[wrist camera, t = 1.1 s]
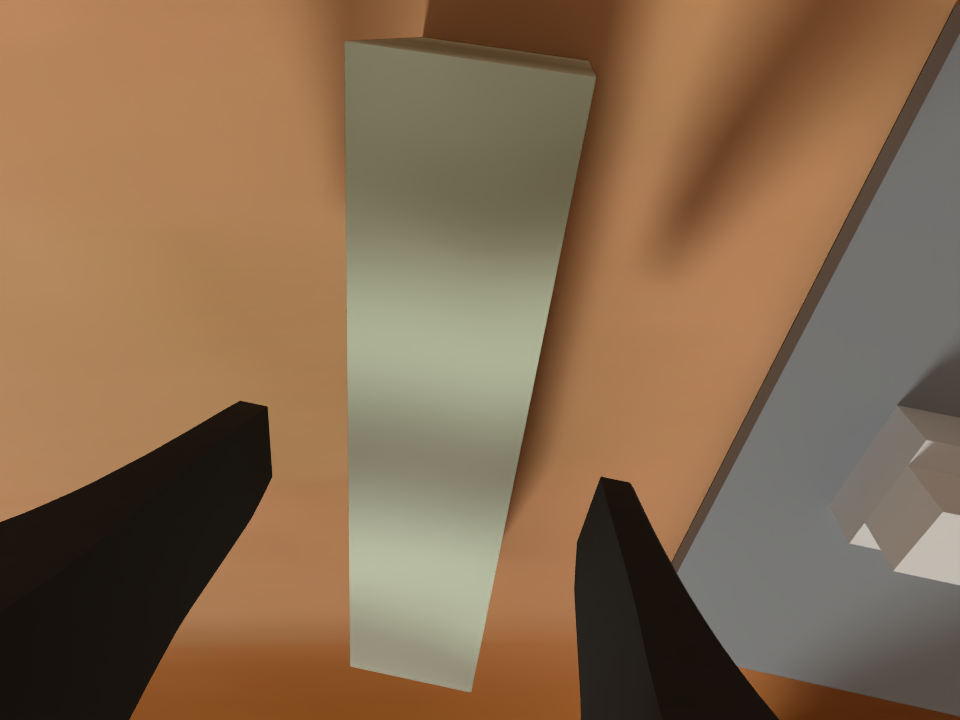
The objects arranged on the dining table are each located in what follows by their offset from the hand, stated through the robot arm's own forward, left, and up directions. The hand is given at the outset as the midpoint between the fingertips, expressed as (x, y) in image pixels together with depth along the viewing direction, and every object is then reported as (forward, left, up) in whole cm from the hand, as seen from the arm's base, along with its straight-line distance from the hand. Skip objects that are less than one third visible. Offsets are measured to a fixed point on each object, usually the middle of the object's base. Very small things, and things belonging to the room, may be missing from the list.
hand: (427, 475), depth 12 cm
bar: (0, 0, -5) cm, 5 cm away
